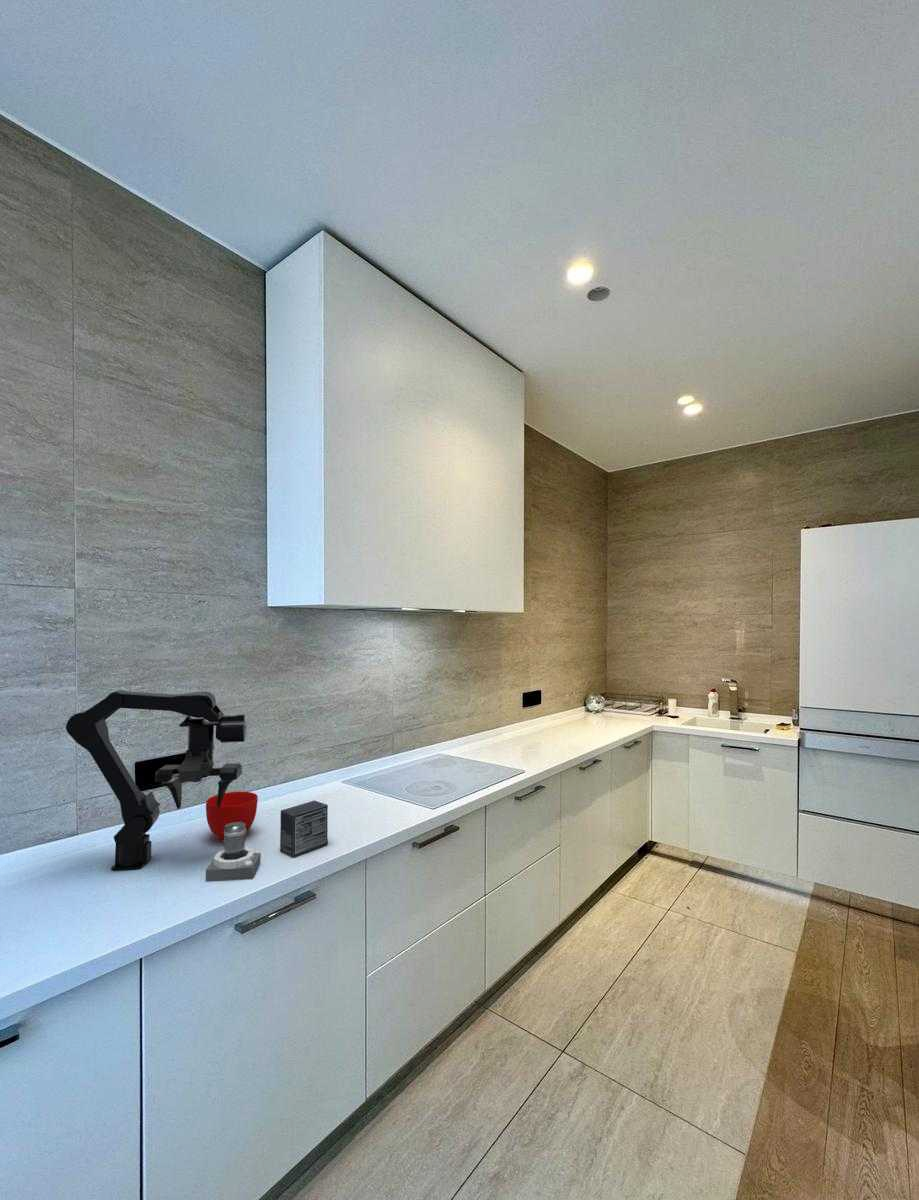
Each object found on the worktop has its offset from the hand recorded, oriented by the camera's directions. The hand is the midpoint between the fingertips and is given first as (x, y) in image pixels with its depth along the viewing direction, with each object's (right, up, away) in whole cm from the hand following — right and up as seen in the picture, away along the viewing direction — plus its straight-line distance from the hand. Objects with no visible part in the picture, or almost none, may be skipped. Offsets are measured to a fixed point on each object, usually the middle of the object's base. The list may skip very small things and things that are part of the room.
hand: (198, 807), depth 133 cm
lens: (+12, -9, -8) cm, 17 cm away
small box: (+24, -13, +6) cm, 28 cm away
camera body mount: (+12, -12, -8) cm, 19 cm away
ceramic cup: (+3, -13, +15) cm, 20 cm away
